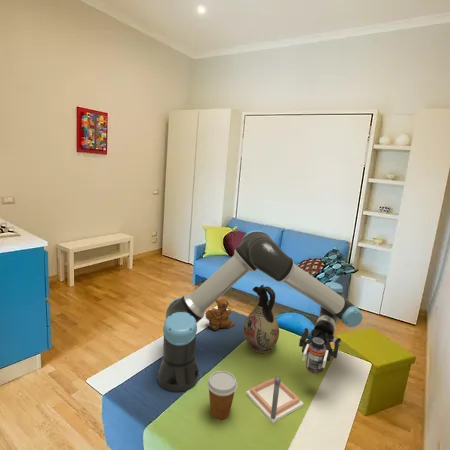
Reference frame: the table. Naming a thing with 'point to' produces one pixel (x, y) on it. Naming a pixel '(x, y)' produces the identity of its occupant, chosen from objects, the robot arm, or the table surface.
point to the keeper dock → (269, 400)
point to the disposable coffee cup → (221, 393)
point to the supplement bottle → (315, 355)
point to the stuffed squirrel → (219, 315)
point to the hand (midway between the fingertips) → (313, 360)
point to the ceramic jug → (262, 322)
